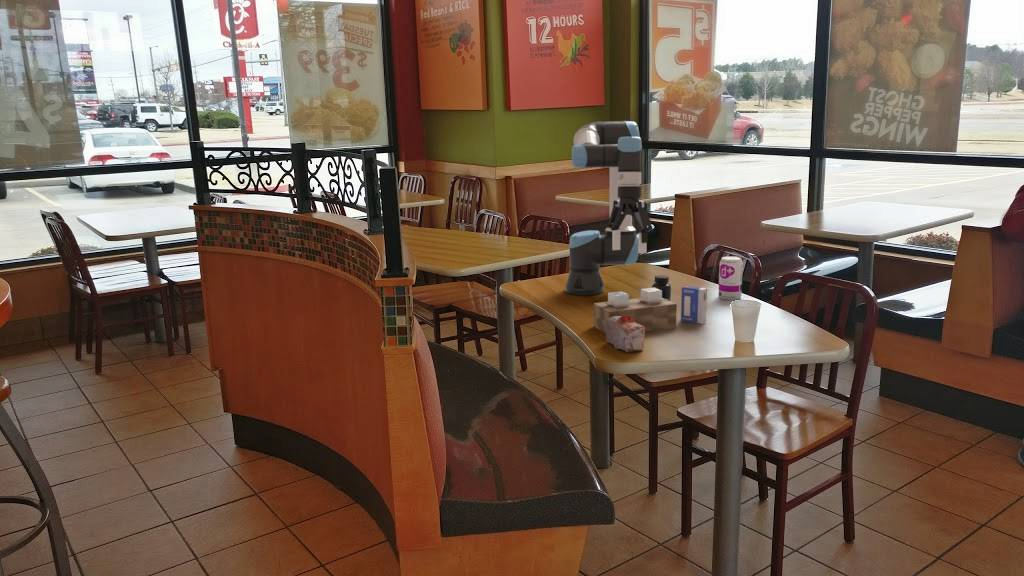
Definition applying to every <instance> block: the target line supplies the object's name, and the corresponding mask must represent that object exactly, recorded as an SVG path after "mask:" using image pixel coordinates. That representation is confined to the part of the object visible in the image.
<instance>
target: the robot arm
mask: <svg viewBox="0 0 1024 576" xmlns="http://www.w3.org/2000/svg"><path fill="white" fill-rule="evenodd" d="M642 149H643V145H642V138H641V136H640V130H639V126H638V124H637V122H635V121H631V120H630V121H629V120H616V121H615V120H614V121H613V120H611V121H593V122H590V123H587V124H585V125H582V126H581V127H580V128H578V129H577V130H576V131H575V133H574V136H573V145H572V146H571V165H572V167H573V168H578V169H585V168H586V169H587V168H609V218H608V219H609V220H608V223H607V227H606V228H605V234H601V233H600V231H599V230H596V229H595V230H591V229H590V230H583V231H579V232H575V233H573V234H571V236H570V237H569V246H568V248H569V273H568V275H567V278H566V281H565V285H564V291H566V292H567V293H566V292H565V293H566V294H569V293H570V294H569V295H574V296H596V295H600V294H602V293H604V292H605V284H604V281H603V278H602V275H601V272H600V269H601V268H600V265H601V266H603V265H604V266H608V265H609V266H610V265H615V266H616V265H617V266H618V265H619V266H620V265H623V266H625V265H634V264H635V263H636V262H637V260H638V256H639V254H647V251H648V249H647V243H648V233H649V232H650V231H653V225H652V222H651V219H650V215H649V212H648V210H647V202H646V200H640V198H642V187H641V184H642V152H643V151H642ZM633 220H634V222H635V224H636V226H637V228H638V230H639V232H638V233H637V229H636V228H635V226H633Z"/></svg>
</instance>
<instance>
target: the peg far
mask: <svg viewBox="0 0 1024 576" xmlns="http://www.w3.org/2000/svg"><path fill="white" fill-rule="evenodd" d="M640 298H641V302H643V303H646V304H657V303H662V291H661V290H659V289H657V288H652V287H647V288H641V289H640Z"/></svg>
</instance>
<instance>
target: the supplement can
mask: <svg viewBox="0 0 1024 576" xmlns="http://www.w3.org/2000/svg"><path fill="white" fill-rule="evenodd" d="M743 265H744V262H743V260H742V258H741V257H739V256H735V255H734V256H732V255H731V256H721V258H720V261H719V273H718V274H719V275H718V294H717V295H718V297H719V298H720V299H721V298H722V299H721V300H726V299H727V300H728V301H736V300H739V299H740V298H741V297H742V290H743V287H742V286H743V267H744V266H743Z"/></svg>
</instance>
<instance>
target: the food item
mask: <svg viewBox="0 0 1024 576" xmlns="http://www.w3.org/2000/svg"><path fill="white" fill-rule="evenodd" d="M606 322H607V323H606V334H605V342H606V343H608V344H611V345H612V346H613V347H614V349H617V350H622V351H625V352H626V353H634V352H633V351H636V352H642V351H644V344H645V339H646V337H645V335H646V332H645V326H642V325H639V324H637V323H635V322H634V319H633V318H632V317H631V316H629V317H628V316H625V315H624V316H623V317H622V316H614V317H611V318H608V319H607V320H606Z"/></svg>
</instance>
